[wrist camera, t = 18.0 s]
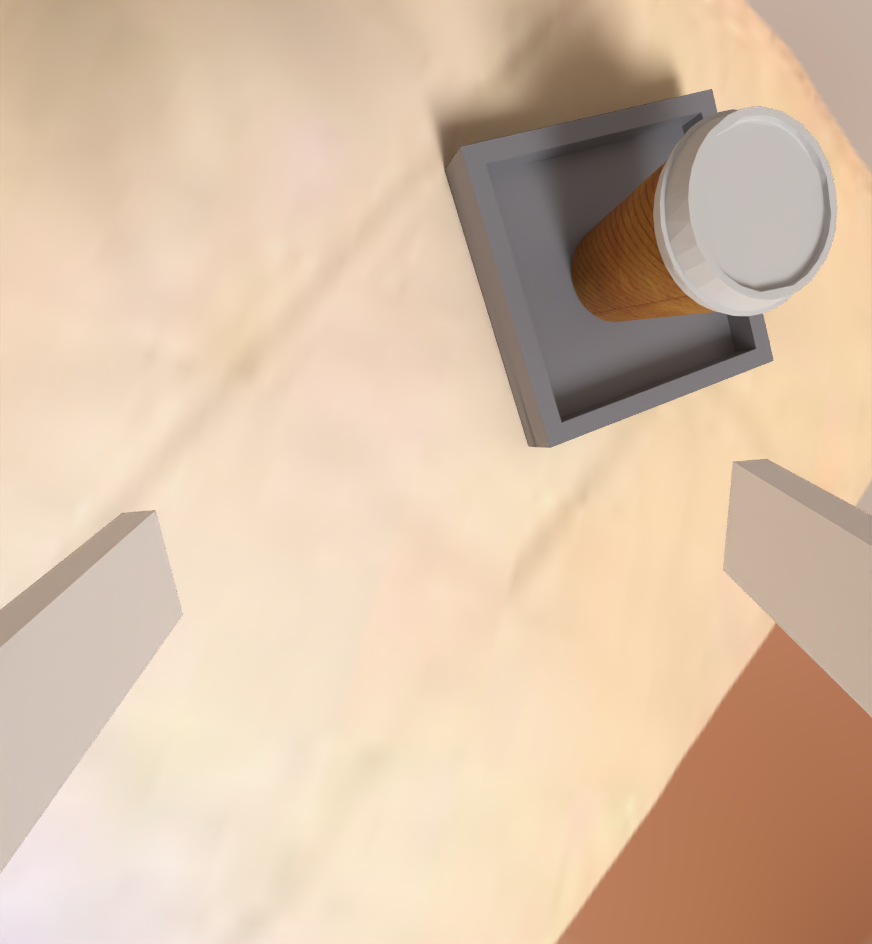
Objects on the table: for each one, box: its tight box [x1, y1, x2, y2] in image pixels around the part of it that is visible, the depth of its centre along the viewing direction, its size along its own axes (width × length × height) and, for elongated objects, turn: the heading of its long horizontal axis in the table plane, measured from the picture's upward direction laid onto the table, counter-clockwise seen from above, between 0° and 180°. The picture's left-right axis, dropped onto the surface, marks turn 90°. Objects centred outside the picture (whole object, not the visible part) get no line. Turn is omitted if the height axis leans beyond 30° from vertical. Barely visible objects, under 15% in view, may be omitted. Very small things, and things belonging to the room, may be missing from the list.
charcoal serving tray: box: [445, 89, 773, 448], centre depth 38 cm, size 18×18×3 cm
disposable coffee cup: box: [572, 106, 837, 322], centre depth 32 cm, size 10×10×12 cm
